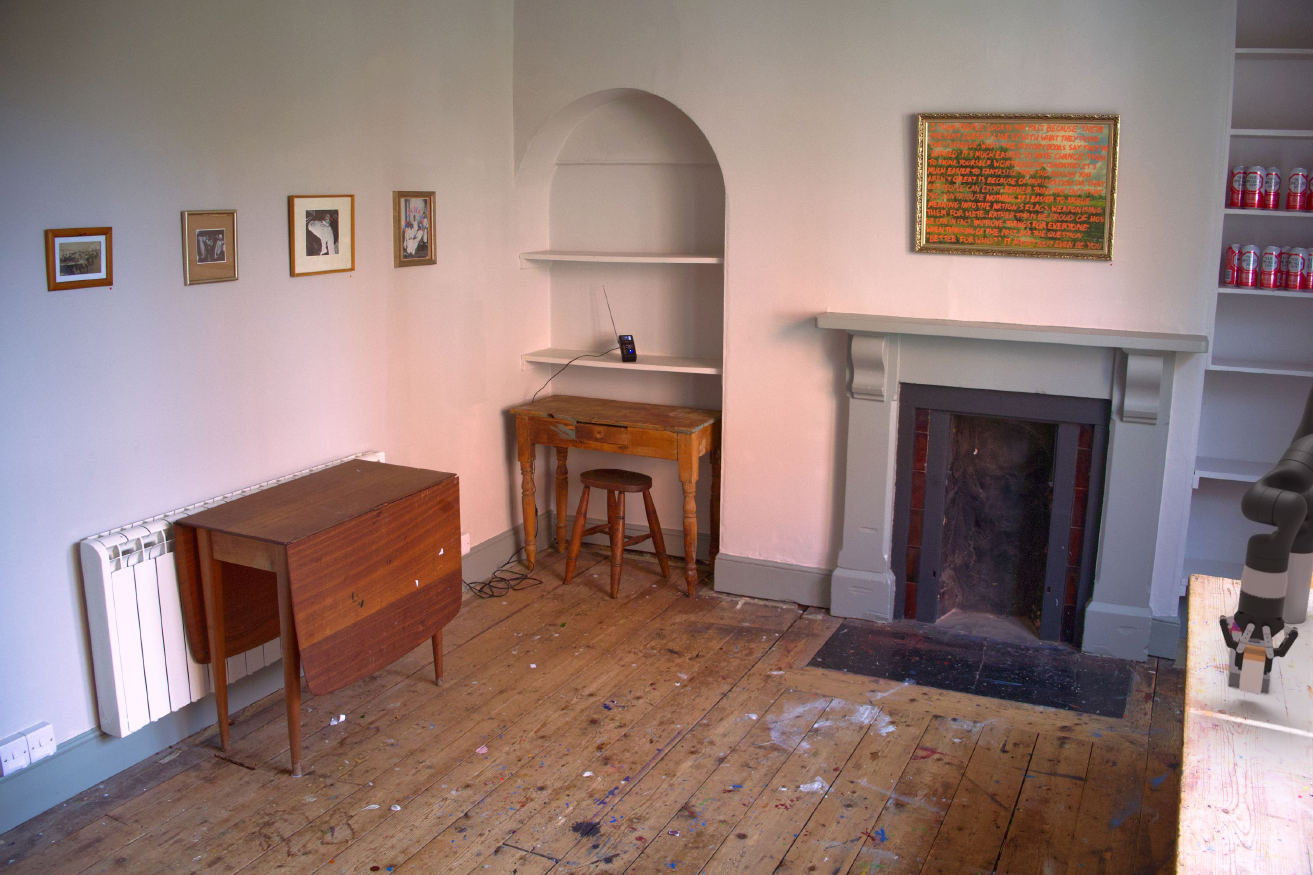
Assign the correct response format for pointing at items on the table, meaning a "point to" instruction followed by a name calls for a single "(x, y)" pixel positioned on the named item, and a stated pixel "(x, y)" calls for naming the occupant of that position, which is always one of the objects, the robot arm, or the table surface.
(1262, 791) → the table surface
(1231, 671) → the power strip
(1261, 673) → the orange-topped block
